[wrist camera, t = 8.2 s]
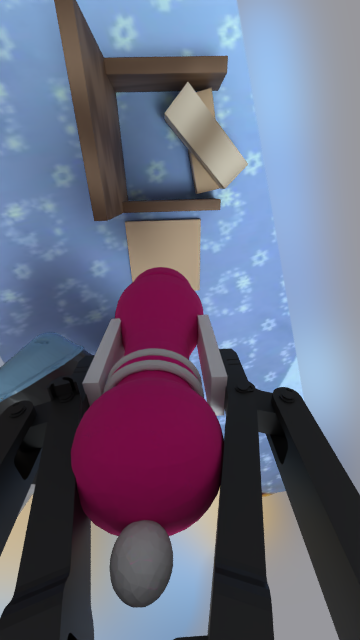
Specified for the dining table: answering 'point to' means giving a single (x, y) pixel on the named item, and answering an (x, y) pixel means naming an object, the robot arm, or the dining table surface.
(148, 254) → the cork mat
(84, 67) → the rack
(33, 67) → the dining table surface
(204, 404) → the pepper mill
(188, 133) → the offcut top
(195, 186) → the offcut bottom
